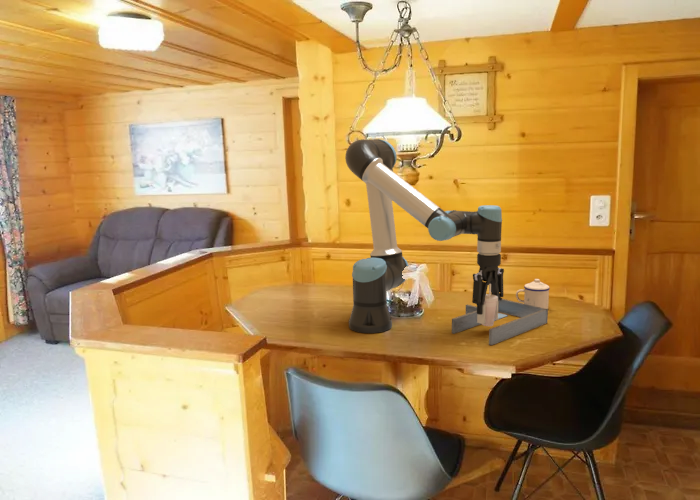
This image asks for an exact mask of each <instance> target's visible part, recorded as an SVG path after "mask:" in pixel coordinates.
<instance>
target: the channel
mask: <svg viewBox="0 0 700 500" xmlns="http://www.w3.org/2000/svg"><path fill="white" fill-rule="evenodd" d="M498 313H501V314H505V315H508V316H509V315H511V316H514V317H518V318H517V319H514V320H511V321H509V322H506V323H503V324H500V325H497V326H495V327H492V328H490V329H488V334H489V335H488V345H489V346H493V345H496V344H498V343H501V342H504V341H506V340H508V339H511V338H514V337H516V336H519V335H522V334H524V333H526V332H529V331H531V330H534V329H536V328H538V327H541V326H543V325H546V324H548V317H549V308H548V309H545V308H540V307H536V306H532V305H527V304H524V303H523V302H520V301H515V300H514V301H513V300H511V299H510V300H508V299H504V298H502V300H501V301H500V300H499V308H498ZM477 326H481V324H480V323H477V305H476V306H475V305H471V304H465V314H463V315H459V316H456V317H453V318H451V334H458V333H460V332H463V331H466V330H469V329H471V328H474V327H477Z"/></svg>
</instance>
